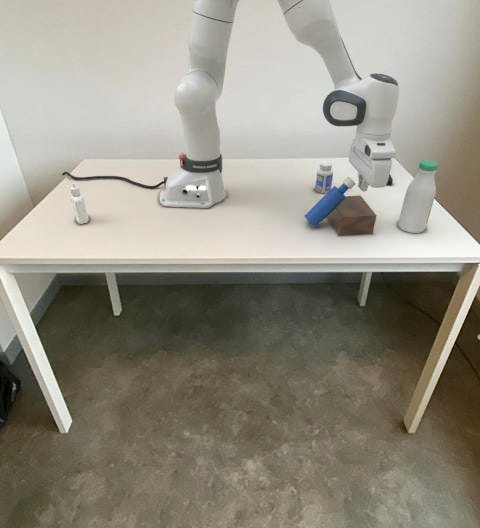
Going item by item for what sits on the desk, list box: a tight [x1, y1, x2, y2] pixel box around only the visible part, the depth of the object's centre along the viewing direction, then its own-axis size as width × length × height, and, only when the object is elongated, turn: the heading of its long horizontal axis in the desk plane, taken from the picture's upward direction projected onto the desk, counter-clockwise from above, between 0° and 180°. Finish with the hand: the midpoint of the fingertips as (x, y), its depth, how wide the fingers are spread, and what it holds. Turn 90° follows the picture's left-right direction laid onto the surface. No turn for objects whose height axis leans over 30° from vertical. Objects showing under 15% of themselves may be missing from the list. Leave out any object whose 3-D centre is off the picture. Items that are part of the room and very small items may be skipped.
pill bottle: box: [314, 161, 334, 194], centre depth 139 cm, size 5×5×10 cm
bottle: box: [304, 176, 357, 228], centre depth 117 cm, size 14×5×15 cm, turn 96°
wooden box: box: [327, 195, 377, 236], centre depth 120 cm, size 10×13×6 cm
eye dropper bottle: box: [69, 182, 89, 225], centre depth 120 cm, size 4×6×12 cm
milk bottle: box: [397, 159, 439, 234], centre depth 115 cm, size 8×8×20 cm
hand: (362, 189), depth 116 cm, fingers closed
